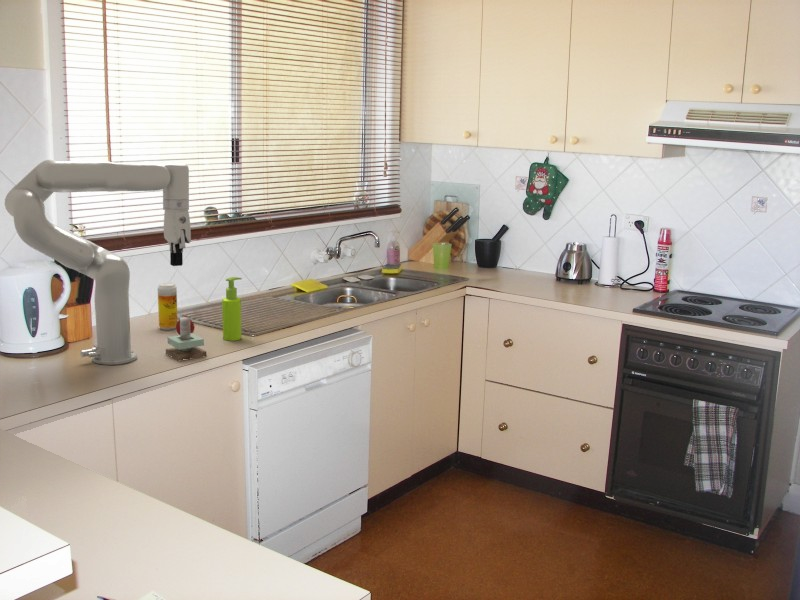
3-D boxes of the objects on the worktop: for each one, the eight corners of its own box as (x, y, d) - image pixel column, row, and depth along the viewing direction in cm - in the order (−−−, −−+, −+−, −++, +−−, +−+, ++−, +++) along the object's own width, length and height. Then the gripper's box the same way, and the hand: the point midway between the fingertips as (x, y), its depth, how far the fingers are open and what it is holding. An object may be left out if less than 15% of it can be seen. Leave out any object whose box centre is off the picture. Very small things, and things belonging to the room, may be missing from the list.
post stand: (178, 361, 257) (177, 323, 255) (165, 353, 264) (164, 317, 261) (206, 356, 263) (205, 319, 260) (193, 349, 270) (192, 313, 267)
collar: (179, 349, 257) (179, 343, 257) (167, 343, 263) (167, 337, 263) (203, 345, 262) (203, 339, 262) (192, 339, 268) (191, 333, 268)
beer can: (172, 330, 290) (171, 287, 286) (155, 329, 291) (154, 285, 287) (180, 326, 295) (179, 283, 292) (164, 324, 297) (162, 282, 293)
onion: (177, 341, 277) (176, 317, 276) (175, 336, 283) (174, 313, 281) (196, 340, 280) (195, 316, 278) (193, 335, 285) (192, 311, 283)
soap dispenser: (247, 337, 284) (246, 277, 280) (232, 341, 279) (231, 280, 274) (234, 334, 288) (233, 275, 283) (219, 338, 282) (217, 278, 277)
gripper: (198, 207, 255) (198, 268, 259) (177, 201, 267) (178, 260, 271) (174, 208, 251) (174, 270, 255) (154, 202, 262) (155, 262, 266)
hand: (176, 265), depth 263 cm, fingers closed
